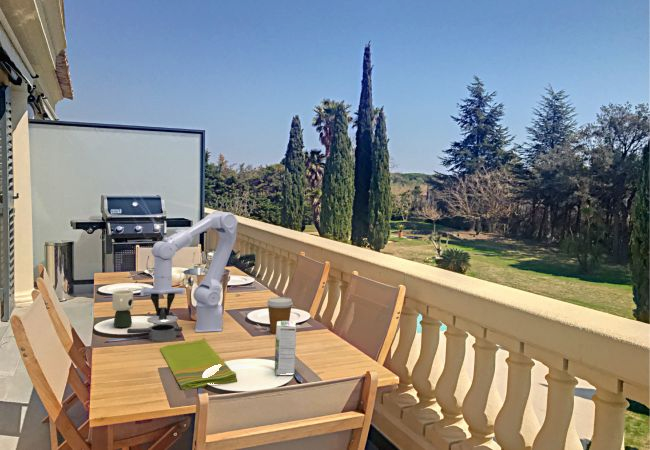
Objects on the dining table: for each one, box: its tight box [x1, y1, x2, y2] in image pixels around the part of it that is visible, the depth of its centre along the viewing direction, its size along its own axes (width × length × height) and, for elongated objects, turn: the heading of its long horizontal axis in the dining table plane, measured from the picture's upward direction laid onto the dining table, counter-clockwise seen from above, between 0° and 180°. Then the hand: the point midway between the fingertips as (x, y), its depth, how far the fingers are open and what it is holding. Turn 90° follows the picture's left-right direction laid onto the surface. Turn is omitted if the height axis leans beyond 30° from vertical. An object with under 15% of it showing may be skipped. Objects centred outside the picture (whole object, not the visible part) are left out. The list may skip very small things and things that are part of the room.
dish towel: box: [159, 337, 238, 390], centre depth 153 cm, size 15×36×3 cm, turn 27°
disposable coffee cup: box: [266, 296, 293, 335], centre depth 189 cm, size 10×10×12 cm
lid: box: [147, 306, 179, 325], centre depth 178 cm, size 10×10×5 cm
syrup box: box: [274, 320, 297, 377], centre depth 149 cm, size 6×6×14 cm
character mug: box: [112, 289, 134, 329], centre depth 190 cm, size 11×7×13 cm, turn 13°
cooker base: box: [126, 323, 183, 342], centre depth 178 cm, size 18×9×4 cm, turn 104°
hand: (162, 315), depth 178 cm, fingers closed on lid, 3 cm apart
